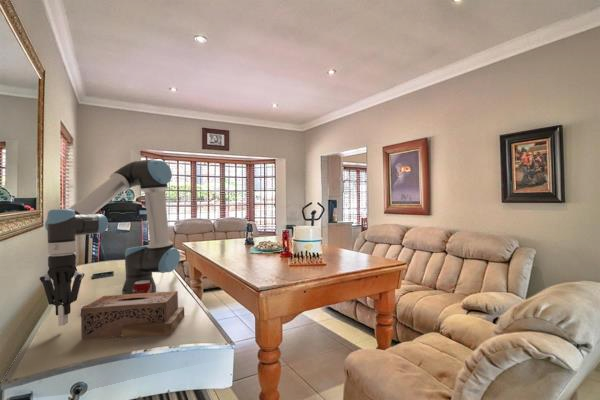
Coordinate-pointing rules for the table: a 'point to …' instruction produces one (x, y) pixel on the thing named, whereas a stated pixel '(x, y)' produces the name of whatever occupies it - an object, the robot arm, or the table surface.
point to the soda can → (142, 287)
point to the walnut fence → (154, 326)
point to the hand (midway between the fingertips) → (63, 324)
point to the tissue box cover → (125, 312)
